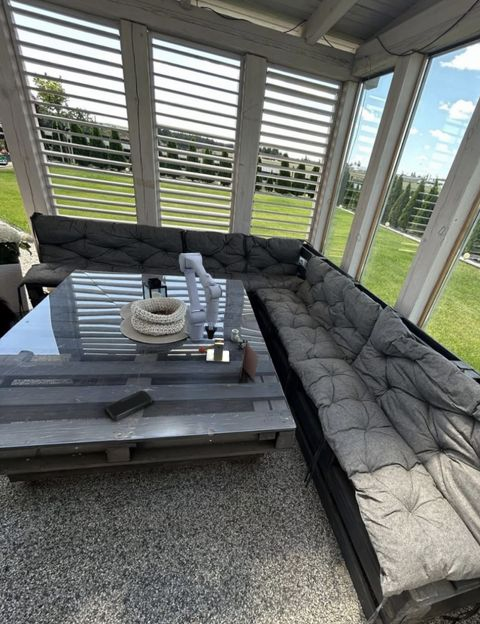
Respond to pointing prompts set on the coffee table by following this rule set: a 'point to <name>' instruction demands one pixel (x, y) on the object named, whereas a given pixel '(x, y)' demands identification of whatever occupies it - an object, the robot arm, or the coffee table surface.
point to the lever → (207, 347)
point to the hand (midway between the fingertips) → (210, 335)
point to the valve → (238, 339)
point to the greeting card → (249, 361)
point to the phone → (128, 405)
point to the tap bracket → (218, 352)
